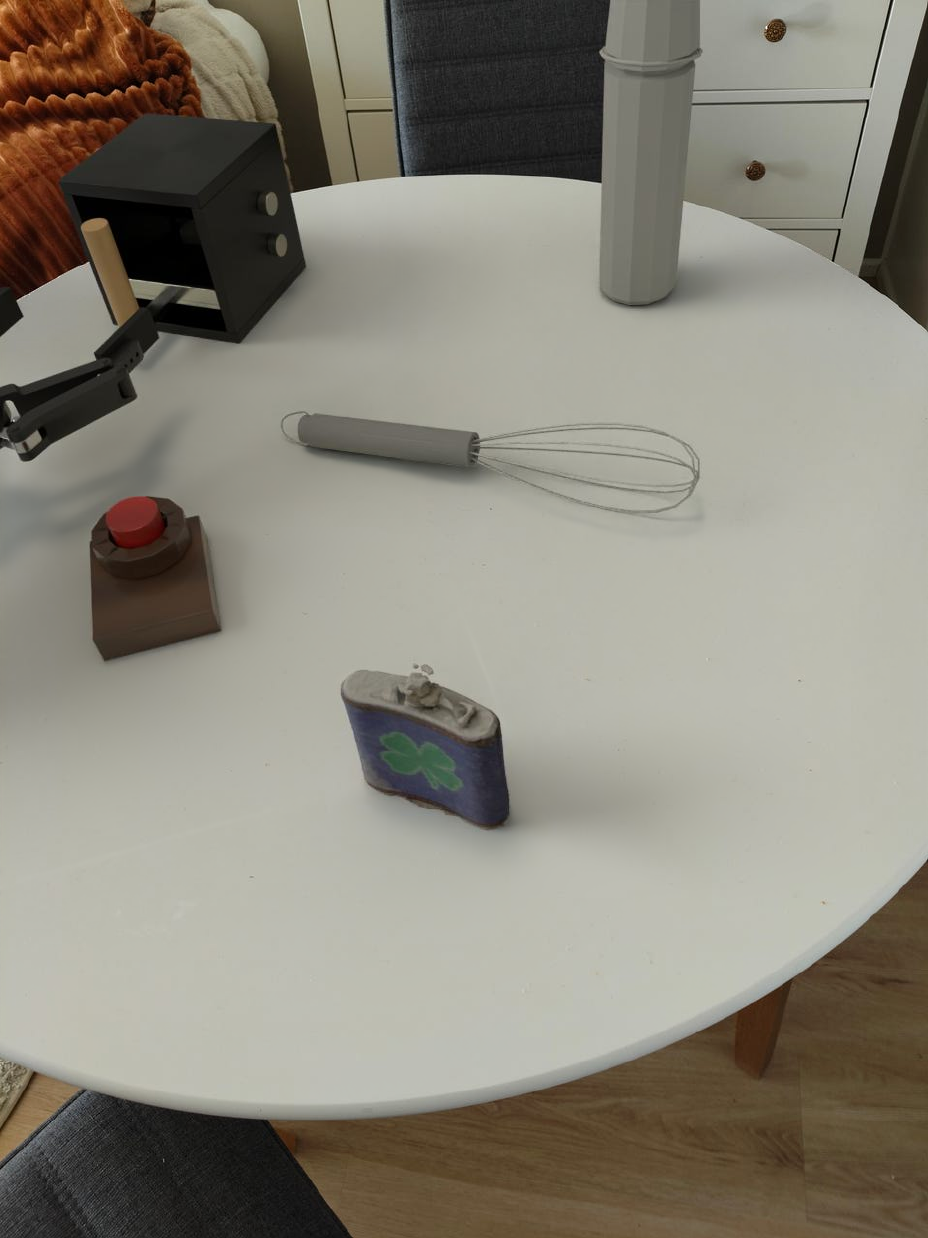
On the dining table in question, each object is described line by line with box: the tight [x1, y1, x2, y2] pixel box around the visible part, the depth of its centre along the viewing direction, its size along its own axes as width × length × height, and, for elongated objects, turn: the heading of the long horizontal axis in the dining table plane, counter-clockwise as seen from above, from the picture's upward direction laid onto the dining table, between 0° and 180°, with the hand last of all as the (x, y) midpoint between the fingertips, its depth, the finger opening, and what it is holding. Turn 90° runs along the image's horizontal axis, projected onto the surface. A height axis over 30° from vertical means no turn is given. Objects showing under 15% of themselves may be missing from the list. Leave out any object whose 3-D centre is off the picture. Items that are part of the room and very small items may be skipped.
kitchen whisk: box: [280, 410, 701, 514], centre depth 74 cm, size 6×34×6 cm, turn 69°
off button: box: [106, 495, 165, 549], centre depth 69 cm, size 4×4×2 cm
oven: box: [57, 112, 307, 344], centre depth 92 cm, size 15×14×14 cm
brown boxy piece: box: [89, 495, 222, 662], centre depth 70 cm, size 11×8×4 cm
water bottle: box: [598, 0, 704, 306], centre depth 84 cm, size 9×8×25 cm
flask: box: [340, 663, 511, 830], centre depth 54 cm, size 9×3×11 cm, turn 65°
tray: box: [81, 215, 221, 329], centre depth 89 cm, size 11×19×10 cm, turn 160°
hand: (80, 311), depth 81 cm, fingers open, 13 cm apart
